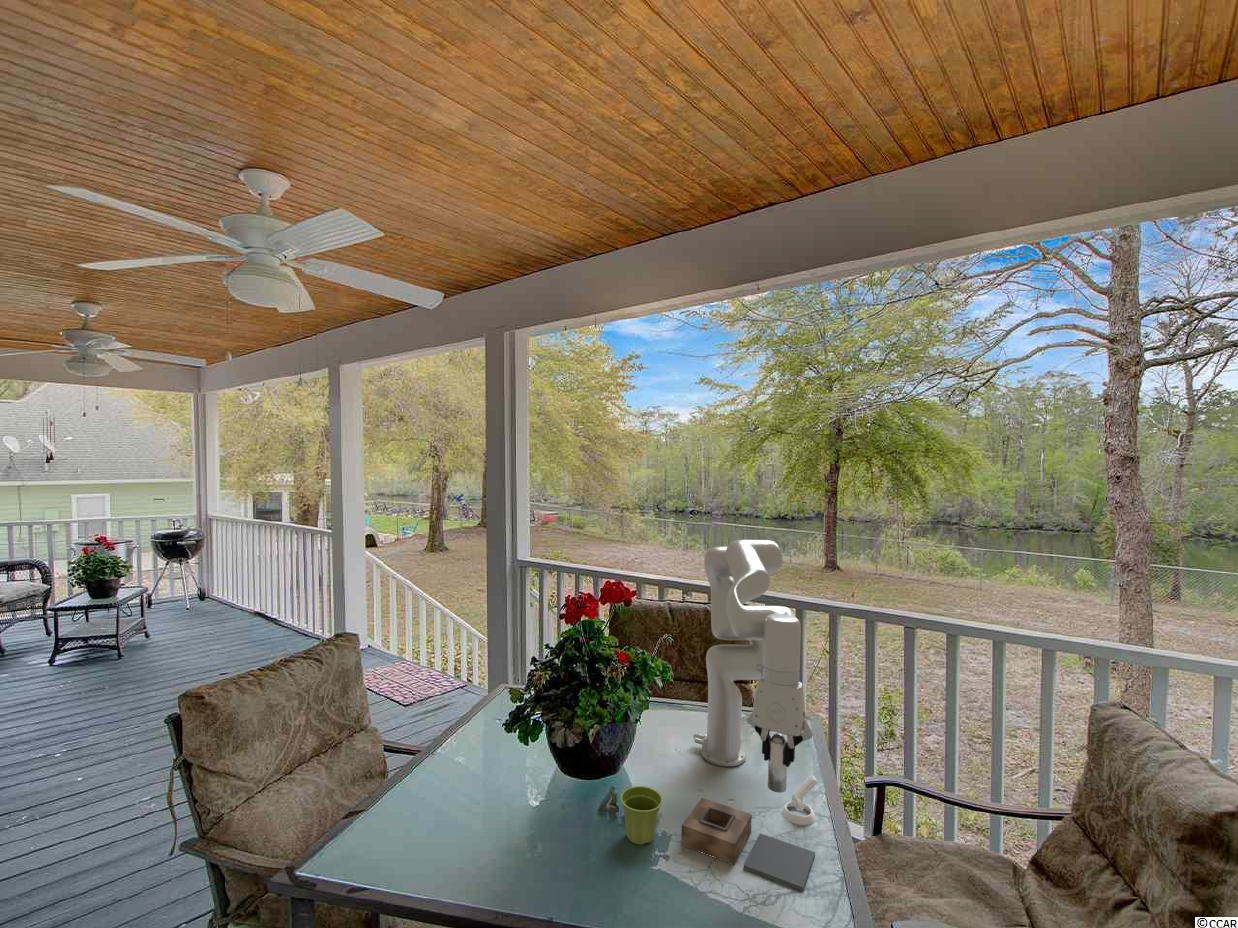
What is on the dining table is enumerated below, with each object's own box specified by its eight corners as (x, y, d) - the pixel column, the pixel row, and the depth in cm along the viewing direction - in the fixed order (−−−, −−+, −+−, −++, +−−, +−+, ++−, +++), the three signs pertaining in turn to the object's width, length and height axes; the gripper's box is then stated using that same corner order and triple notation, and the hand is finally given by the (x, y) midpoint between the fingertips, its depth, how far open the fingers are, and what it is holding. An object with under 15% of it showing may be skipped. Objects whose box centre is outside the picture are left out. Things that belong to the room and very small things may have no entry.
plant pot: (666, 828, 134) (667, 791, 134) (654, 854, 125) (656, 814, 125) (627, 819, 137) (628, 782, 137) (613, 844, 128) (614, 804, 128)
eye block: (681, 845, 128) (681, 822, 128) (701, 816, 139) (701, 795, 139) (734, 865, 122) (735, 841, 122) (751, 833, 133) (751, 812, 133)
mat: (743, 868, 121) (743, 864, 121) (759, 836, 132) (759, 833, 132) (803, 891, 116) (803, 887, 116) (814, 855, 126) (815, 852, 126)
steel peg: (765, 788, 123) (767, 734, 123) (770, 780, 127) (772, 727, 126) (783, 794, 121) (785, 739, 121) (788, 785, 125) (790, 732, 125)
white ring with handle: (841, 804, 136) (820, 791, 135) (808, 840, 138) (786, 827, 136) (827, 780, 144) (807, 767, 142) (795, 814, 145) (775, 801, 144)
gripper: (736, 671, 125) (734, 757, 125) (817, 689, 116) (814, 780, 116) (747, 661, 131) (745, 743, 131) (825, 677, 123) (822, 764, 123)
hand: (778, 759), depth 124 cm, fingers closed on steel peg, 3 cm apart
